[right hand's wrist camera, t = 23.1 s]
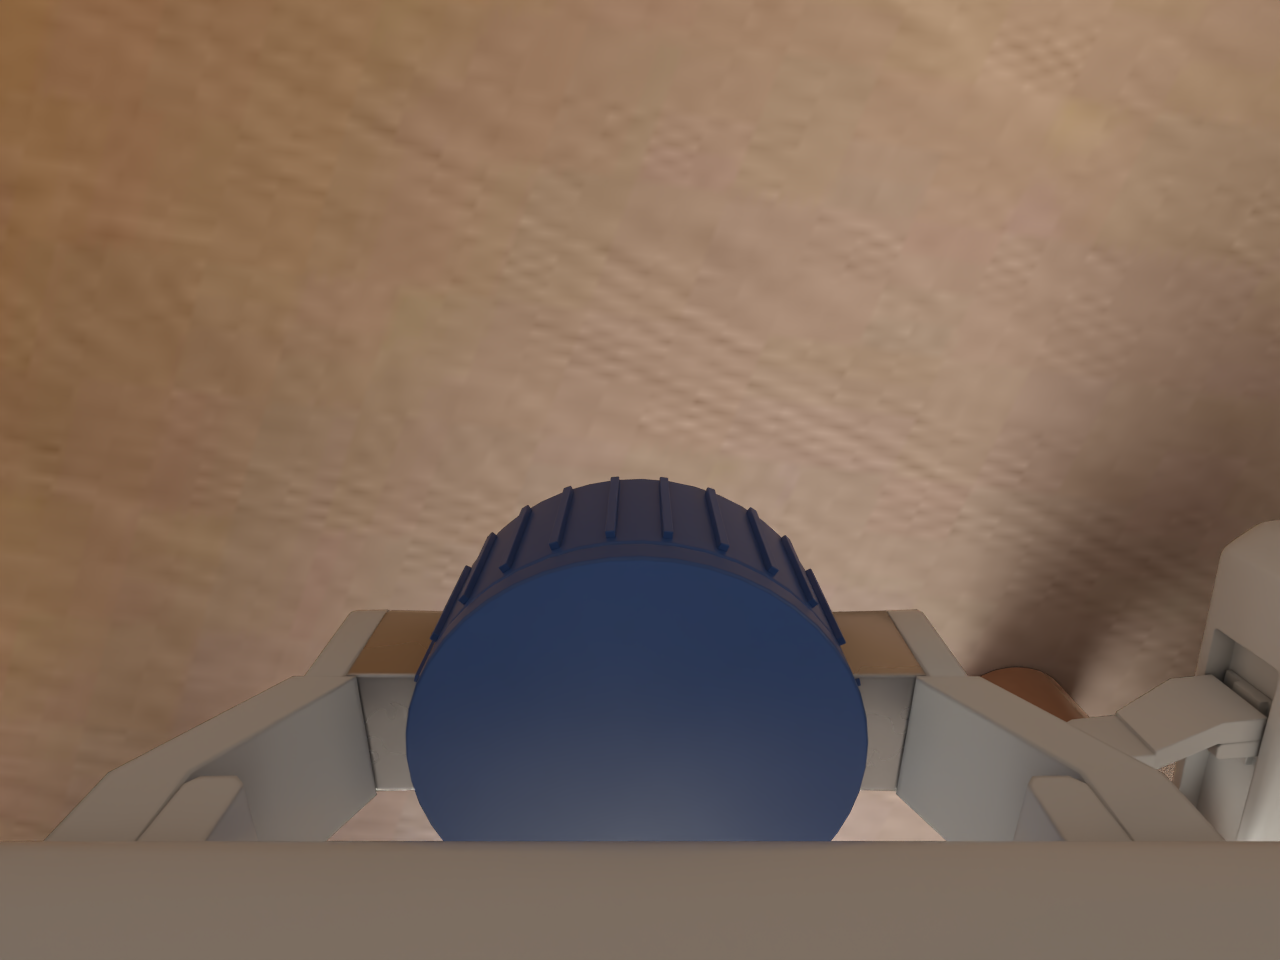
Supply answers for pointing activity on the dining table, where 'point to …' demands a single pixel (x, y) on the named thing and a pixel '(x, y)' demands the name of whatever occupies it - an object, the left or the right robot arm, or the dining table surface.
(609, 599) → the lid
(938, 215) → the dining table surface
